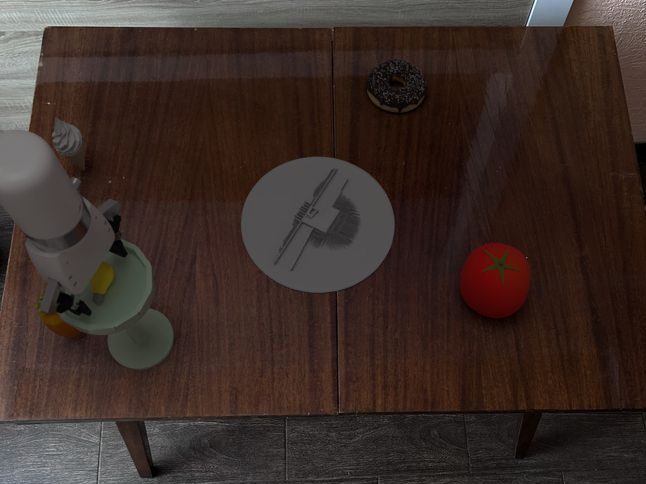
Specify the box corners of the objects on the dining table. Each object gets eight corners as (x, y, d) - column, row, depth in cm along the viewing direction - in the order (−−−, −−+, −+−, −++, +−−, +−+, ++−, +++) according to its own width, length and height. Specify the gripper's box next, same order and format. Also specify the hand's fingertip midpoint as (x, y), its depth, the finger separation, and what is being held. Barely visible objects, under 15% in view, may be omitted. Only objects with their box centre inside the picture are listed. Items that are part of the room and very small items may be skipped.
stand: (96, 354, 117) (51, 306, 97) (129, 300, 120) (91, 242, 101) (154, 380, 116) (120, 337, 96) (185, 324, 119) (159, 271, 100)
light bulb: (115, 265, 98) (115, 261, 95) (110, 306, 98) (109, 305, 95) (90, 261, 97) (89, 257, 94) (84, 303, 97) (83, 301, 94)
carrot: (90, 319, 119) (59, 282, 105) (92, 346, 117) (61, 312, 103) (61, 323, 119) (26, 287, 104) (62, 350, 117) (26, 317, 103)
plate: (292, 134, 133) (292, 130, 132) (421, 200, 129) (422, 197, 128) (211, 246, 124) (210, 243, 123) (346, 320, 121) (346, 318, 120)
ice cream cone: (103, 169, 129) (76, 117, 115) (81, 186, 127) (52, 135, 113) (85, 153, 130) (57, 99, 116) (64, 169, 128) (32, 117, 114)
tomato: (440, 278, 124) (455, 240, 111) (496, 255, 126) (517, 216, 113) (473, 338, 121) (492, 307, 107) (529, 314, 123) (555, 281, 109)
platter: (35, 311, 97) (29, 305, 95) (87, 230, 101) (82, 222, 99) (124, 350, 96) (119, 344, 93) (173, 266, 100) (169, 259, 98)
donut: (377, 62, 139) (378, 47, 136) (433, 80, 138) (436, 66, 135) (358, 105, 136) (359, 91, 132) (416, 123, 135) (418, 110, 131)
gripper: (66, 148, 83) (107, 220, 99) (-16, 267, 77) (42, 323, 93) (121, 171, 82) (154, 240, 98) (43, 293, 77) (91, 345, 93)
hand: (99, 280), depth 96 cm, fingers open, 9 cm apart
